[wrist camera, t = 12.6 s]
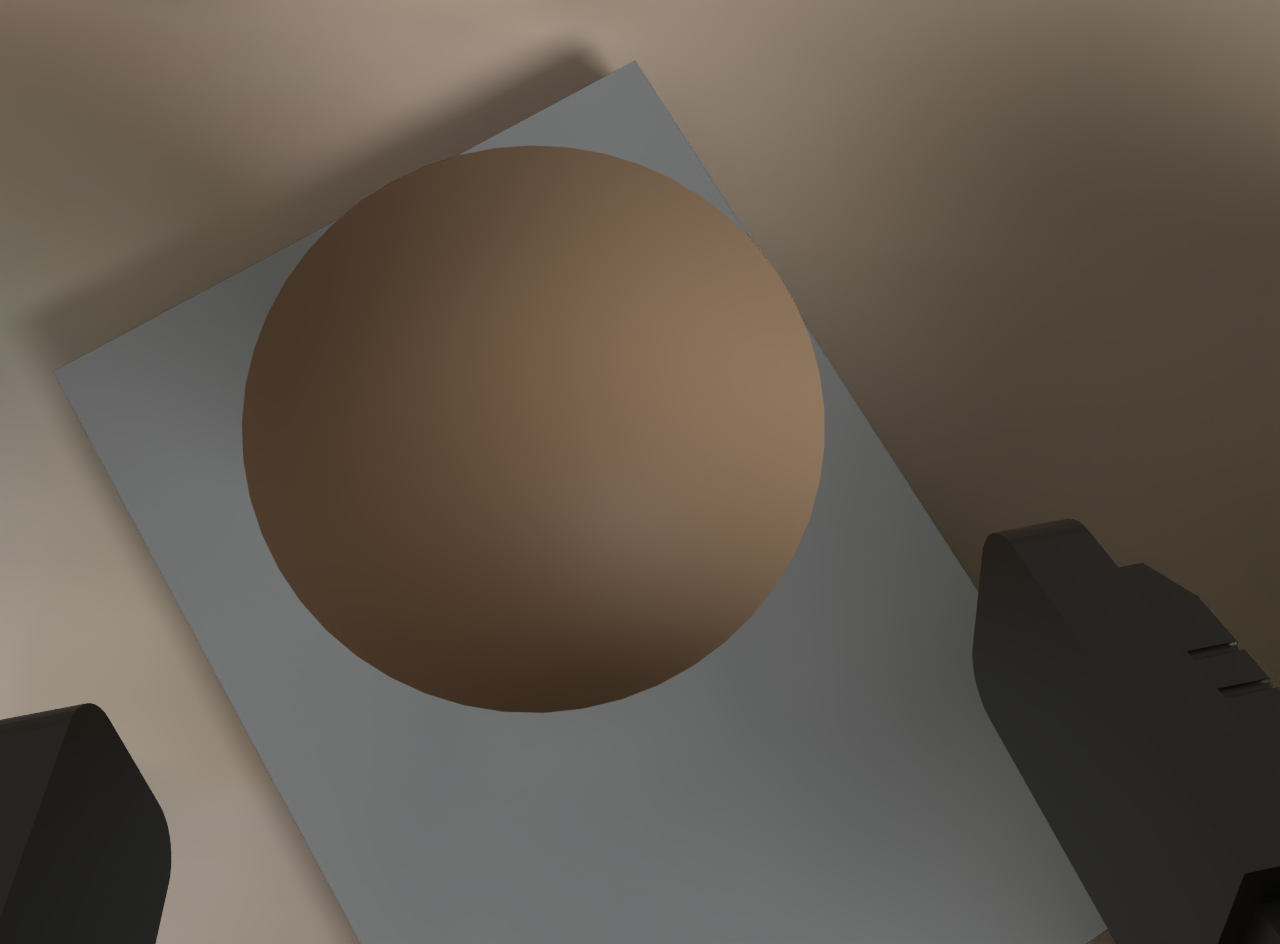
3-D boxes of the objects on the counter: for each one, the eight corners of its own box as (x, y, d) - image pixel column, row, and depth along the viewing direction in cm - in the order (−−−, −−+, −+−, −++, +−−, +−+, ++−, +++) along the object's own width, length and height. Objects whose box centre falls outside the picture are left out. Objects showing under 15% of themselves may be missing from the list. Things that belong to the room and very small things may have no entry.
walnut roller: (604, 396, 21) (629, 51, 9) (731, 598, 20) (936, 509, 9) (396, 519, 20) (135, 322, 8) (522, 730, 20) (431, 834, 8)
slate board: (632, 97, 24) (635, 60, 22) (1128, 870, 21) (1168, 886, 20) (89, 390, 22) (52, 372, 21) (560, 1261, 20) (557, 1310, 18)
